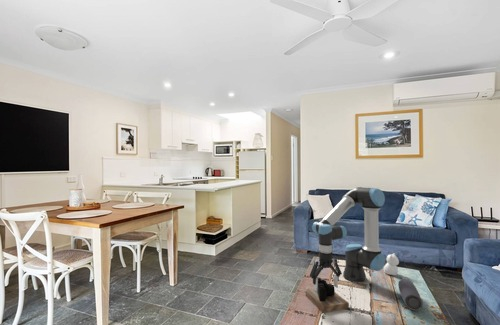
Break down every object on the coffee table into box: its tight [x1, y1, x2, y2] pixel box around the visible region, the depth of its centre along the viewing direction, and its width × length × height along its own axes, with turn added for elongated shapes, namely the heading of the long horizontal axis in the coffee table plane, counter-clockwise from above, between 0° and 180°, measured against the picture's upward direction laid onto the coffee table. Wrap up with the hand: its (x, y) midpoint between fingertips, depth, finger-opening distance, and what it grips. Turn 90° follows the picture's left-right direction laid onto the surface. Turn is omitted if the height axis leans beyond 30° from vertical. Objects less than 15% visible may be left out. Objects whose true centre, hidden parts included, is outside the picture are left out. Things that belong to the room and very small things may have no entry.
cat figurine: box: [381, 252, 400, 276], centre depth 189 cm, size 9×12×15 cm
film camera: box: [317, 277, 336, 301], centre depth 149 cm, size 15×10×9 cm, turn 171°
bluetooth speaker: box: [397, 277, 423, 311], centre depth 147 cm, size 23×9×10 cm, turn 157°
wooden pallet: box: [305, 288, 350, 314], centre depth 148 cm, size 16×20×3 cm
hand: (326, 288), depth 149 cm, fingers open, 13 cm apart
